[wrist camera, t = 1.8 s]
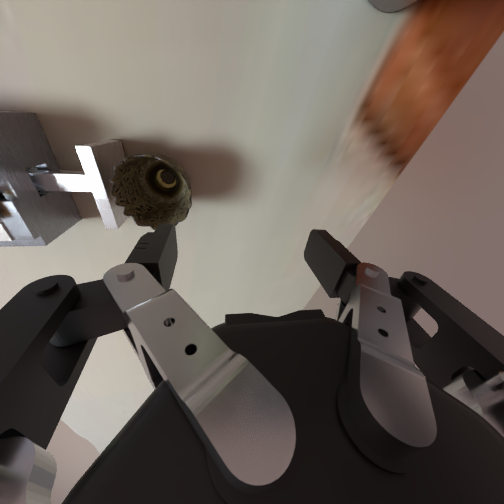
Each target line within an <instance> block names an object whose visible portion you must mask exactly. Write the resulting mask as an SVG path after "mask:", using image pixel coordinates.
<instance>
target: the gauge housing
mask: <svg viewBox="0 0 504 504" xmlns="http://www.w3.org/2000/svg"><path fill="white" fill-rule="evenodd" d="M35 166H36V167H37V169H45V170H60V168H59V166H58V164H57V161H56V159H55V157H54V154H53V152H52V150H51V148H50V145H49V143H48V141H47V138H46V136H45V134H44V132H43V129H42V127H41V125H40V122H39V120H38V118H37V116H36V113H26V112H14V111H1V110H0V190H1V192H2V193H3V195H4V196H5V198H6V199H0V247H1V246H46V245H48V244H49V243H50V242H52V241H53V240H54V239H56V238H57V237H58V236H60V235H61V234H62V233H64V232H65V231H66V230H68V229H69V228H71V227H72V226H73V225H75V224H76V223H77V222H79V221H80V220H81V216H80V214H79V212H78V209H77V207H76V205H75V203H74V200H73V198H72V196H71V193H70V191H42V192H40V193H38V192H37V190H36V188H35V186H34V184H33V182H32V180H31V178H30V176H29V175H28V173H27V171H26V169H27V168H31V167H35Z"/></svg>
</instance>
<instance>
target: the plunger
mask: <svg viewBox="0 0 504 504" xmlns="http://www.w3.org/2000/svg"><path fill="white" fill-rule="evenodd" d="M75 148H76V151H77V153H78V156H79V159H80V161H81V164H82V167H83V169H84V171H71V170H45V169H26V171H27V173H28V175H29V176H30V178H31V180H32V182H33V184H34V186H35V188H36V190H37V191H72V192H92V193H93V196H94V199H95V201H96V204H97V207H98V209H99V212H100V215H101V217H102V220H103V223H104V225H105V228H106V229H119V227H120V226H121V225H122V224H123V223H124V222H125V221H126V219H127V218H128V217H129V216H125V215H124V214H123V212H124V208H125V207H120V206H117V205H116V204H115V197H114V196H112V195H111V191H112V189H113V188H112V187H113V185H115V183H111V182H110V178H111V177H112V176H113V175H114V174H115V172H114V166H115V165H116V164H118V163H120V162H122V161H124V159H125V155H124V151H123V147H122V143H121V140H105V141H100V142H94V143H89V144H83V145H78V146H75ZM0 193H2V192H1V190H0Z"/></svg>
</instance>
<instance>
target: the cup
mask: <svg viewBox="0 0 504 504" xmlns="http://www.w3.org/2000/svg"><path fill="white" fill-rule="evenodd" d="M164 171H169V172H171V173H172V174H173V175H174V181H173V183H171V184H167V183H165V182H164V181H163V180H162V178H161V174H162V172H164ZM114 172H115V174H114V175H113V176H112V177H111V178H110V182H111V183H115V185H113V187H112V188H113V189H112V191H111V195H112V196H114V197H115V204H116V205H117V206H120V207H125V208H124V212H123V214H124V215H125V216H130V215H131V216H132V217H133V219H134V222H135V223H136V224H137V225H138V226H151V229H153V230H156V228H157V226H158V224H174V225H175V226H176V225H177V224H178V222H182V221H183V220H185V218H186V217H187V215H188V212H189V209H190V208H191V198H192V196H191V186H190V181H189V178H188V176H187V174H186V172H185V171H184V169H183V168H182V167H181V166H180V165H179V164H178V163H177V162H176V161H174V160H173V159H171V158H169V157H166V156H163V155H159V154H143V155H136V156H133V157H128V158H125V159H124V161H122V162H120V163H118V164H116V165H115V166H114Z"/></svg>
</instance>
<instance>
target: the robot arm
mask: <svg viewBox="0 0 504 504" xmlns="http://www.w3.org/2000/svg"><path fill="white" fill-rule="evenodd" d="M416 1H417V0H369V2H370V3H371V4H372V5H373V6H374V7H375V8H377V9H378V10H380V11H384V12H395V11H399V10H401V9H403V8H405V7H407V6H409V5H410V4H412V3H414V2H416ZM177 254H178V251H177V240H176V231H175V225H174V224H158V226H157V228H156V230H155V232H148V233H146V234H145V235H143V236H142V237H141V238H140V239H139V241H138V242H137V244H136V246H135V247H134V249H133V250H132V252H131V254H130V255H129V257H128V259H127V260H126V262H125V263H124V264H121V265H118V266H115V267H113V268H111V269H110V270H108V271H107V272H106V273H105V275H104V277H103V279H101V280H97V281H92V282H87V283H82V284H76V282H75V280H74V279H73V278H72V277H70V276H67V275H54V276H49V277H45V278H42V279H39V280H36V281H34V282H32V283H30V284H28V285H27V286H25V287H24V288H23V289H21V290H20V291H19V292H18V293H17V294H16V295H15V296H14V297H13V298H12V299H11V300H10V301H9V302H8V303H7V304H6V305H5V306H4V307H3V308H2V309H1V310H0V504H51V491H52V488H53V484H54V480H55V477H56V471H57V464H56V460H55V458H54V456H53V455H52V454H51V453H49V452H48V451H46V448H47V446H48V444H49V442H50V440H51V438H52V435H53V433H54V431H55V429H56V426H57V425H58V422H59V420H60V418H61V416H62V414H63V411H64V409H65V407H66V405H67V403H68V401H69V398H70V396H71V394H72V392H73V390H74V388H75V385H76V383H77V381H78V379H79V377H80V375H81V372H82V370H83V368H84V366H85V364H86V361H87V359H88V357H89V355H90V353H91V351H92V348H93V346H94V344H95V342H96V340H97V338H98V337H100V336H103V335H106V334H109V333H113V332H116V331H119V330H123V332H124V334H125V335H126V337H127V339H128V341H129V342H130V344H131V346H132V348H133V350H134V351H135V353H136V355H137V357H138V358H139V360H140V362H141V364H142V366H143V368H144V371H145V373H146V375H147V377H148V379H149V381H150V383H151V384H152V386H153V388H154V391H153V392H152V394H151V395H150V396H149V397H148V398H147V400H146V401H145V402H144V403H143V404H142V406H141V407H140V408H139V409H138V410H137V412H136V413H135V414H134V415H133V416H132V418H131V419H130V420H129V421H128V422H127V423H126V425H125V426H124V427H123V428H122V429H121V431H120V432H119V433H118V434H117V435H116V437H115V438H114V439H113V440H112V441H111V443H110V444H109V445H108V446H107V447H106V448H105V450H104V451H103V452H102V453H101V454H100V456H99V457H98V458H97V459H96V460H95V462H94V463H93V464H92V465H91V467H90V468H89V469H88V470H87V471H86V472H85V474H84V475H83V476H82V477H81V478H80V480H79V481H78V482H77V483H76V484H75V486H74V487H73V489H72V490H71V491H70V492H69V494H68V496H67V497H66V498H65V500H64V501H63V503H62V504H504V336H503V335H501V334H500V333H499V332H498V331H496V330H495V329H494V328H492V327H491V326H490V325H488V324H487V323H486V322H485V321H483V320H482V319H481V318H480V317H478V316H477V315H476V314H474V313H473V312H472V311H471V310H469V309H468V308H467V307H465V306H464V305H463V304H462V303H460V302H459V301H458V300H456V299H455V298H454V297H452V296H451V295H450V294H449V293H447V292H446V291H444V290H443V289H442V288H441V287H439V286H438V285H437V284H436V283H434V282H433V281H432V280H430V279H429V278H427V277H425V276H423V275H421V274H419V273H415V272H409V271H407V272H404V274H403V275H402V276H401V278H400V279H397V278H392V277H388V275H387V273H386V272H385V271H384V270H383V269H381V268H380V267H378V266H376V265H373V264H370V263H361V262H360V261H359V260H358V259H357V258H356V257H355V256H354V255H353V254H352V253H351V252H349V251H348V250H347V248H345V247H344V246H343V245H342V244H341V243H340V242H339V241H337V240H335V239H334V238H333V237H332V236H331V235H330V234H329V233H328V232H327V231H326V230H316V229H313V230H312V231H311V232H310V235H309V238H308V241H307V244H306V248H305V251H304V258H305V261H306V262H307V264H308V265H309V267H310V268H311V270H312V271H313V273H314V274H315V276H316V277H317V279H318V280H319V282H320V284H321V285H322V286H323V288H324V290H325V291H326V293H327V294H328V296H329V297H330V298H336V297H337V298H339V297H340V301H339V303H338V307H337V312H336V317H335V319H331V318H327V317H325V315H324V314H323V312H322V310H321V309H318V310H300V311H296V312H293V313H290V314H287V315H284V316H280V317H272V316H266V315H259V314H253V313H244V314H226V315H225V323H223V324H220V325H217V326H215V327H213V328H210V327H209V326H208V325H207V324H206V323H205V322H204V321H203V320H202V319H201V318H200V317H199V315H198V314H197V313H196V312H195V311H194V310H193V309H192V308H191V307H190V306H189V305H188V304H187V303H186V302H185V301H184V299H183V298H182V297H181V296H180V295H179V294H178V293H177V292H176V291H175V290H174V289H169V288H170V284H171V281H172V277H173V273H174V269H175V265H176V261H177ZM421 307H422V308H423V309H424V310H425V311H426V312H427V313H428V314H429V315H430V316H431V317H432V318H433V319H434V320H435V321H436V322H437V324H438V332H437V333H436V334H435V335H434V336H433V337H432V338H431V337H430V336H429V335H428V334H427V333H426V332H425V330H423V328H422V327H421V326H420V325H419V324H418V323H417V322H416V321H415V320H414V319H413V317H414V316H415V314H416V313H417V312H418V311H419V310H420V309H421ZM414 363H415V364H416V365H417V367H418V368H419V369H420V370H421V371H420V370H419V369H417V368H416V367H415V365H414ZM425 377H426V378H425Z"/></svg>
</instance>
